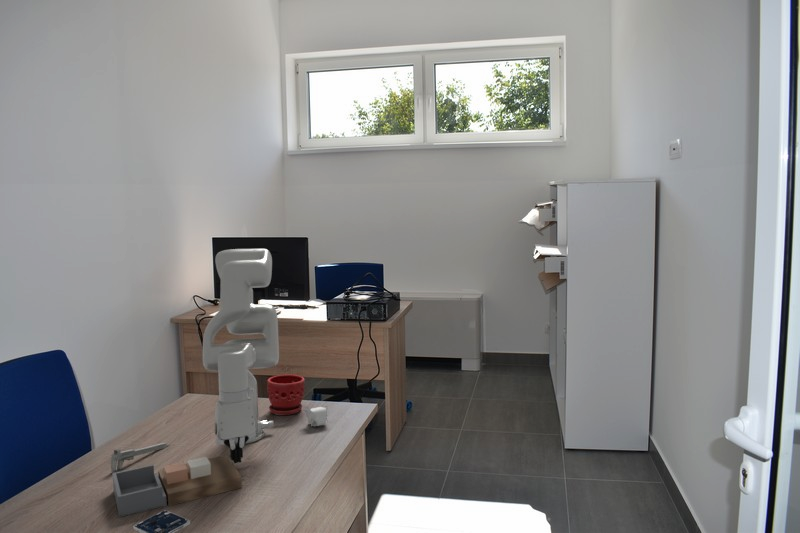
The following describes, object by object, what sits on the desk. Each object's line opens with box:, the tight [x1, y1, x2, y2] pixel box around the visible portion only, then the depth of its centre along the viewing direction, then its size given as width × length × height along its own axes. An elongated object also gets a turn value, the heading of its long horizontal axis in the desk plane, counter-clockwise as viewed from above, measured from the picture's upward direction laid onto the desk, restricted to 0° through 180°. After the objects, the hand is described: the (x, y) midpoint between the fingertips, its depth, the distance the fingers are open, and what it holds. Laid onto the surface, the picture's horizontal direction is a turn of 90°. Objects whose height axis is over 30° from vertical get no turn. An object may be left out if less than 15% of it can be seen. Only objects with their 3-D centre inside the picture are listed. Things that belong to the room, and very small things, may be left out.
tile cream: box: [186, 456, 211, 479], centre depth 157 cm, size 5×5×3 cm
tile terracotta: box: [163, 461, 188, 485], centre depth 154 cm, size 5×5×3 cm
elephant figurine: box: [303, 402, 329, 427], centre depth 198 cm, size 8×10×7 cm
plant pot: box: [266, 374, 306, 416], centre depth 212 cm, size 13×13×12 cm
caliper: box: [110, 442, 170, 473], centre depth 174 cm, size 21×1×6 cm, turn 157°
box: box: [112, 463, 168, 518], centre depth 149 cm, size 11×15×5 cm
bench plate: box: [157, 454, 243, 506], centre depth 157 cm, size 18×16×3 cm
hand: (236, 461), depth 161 cm, fingers closed
